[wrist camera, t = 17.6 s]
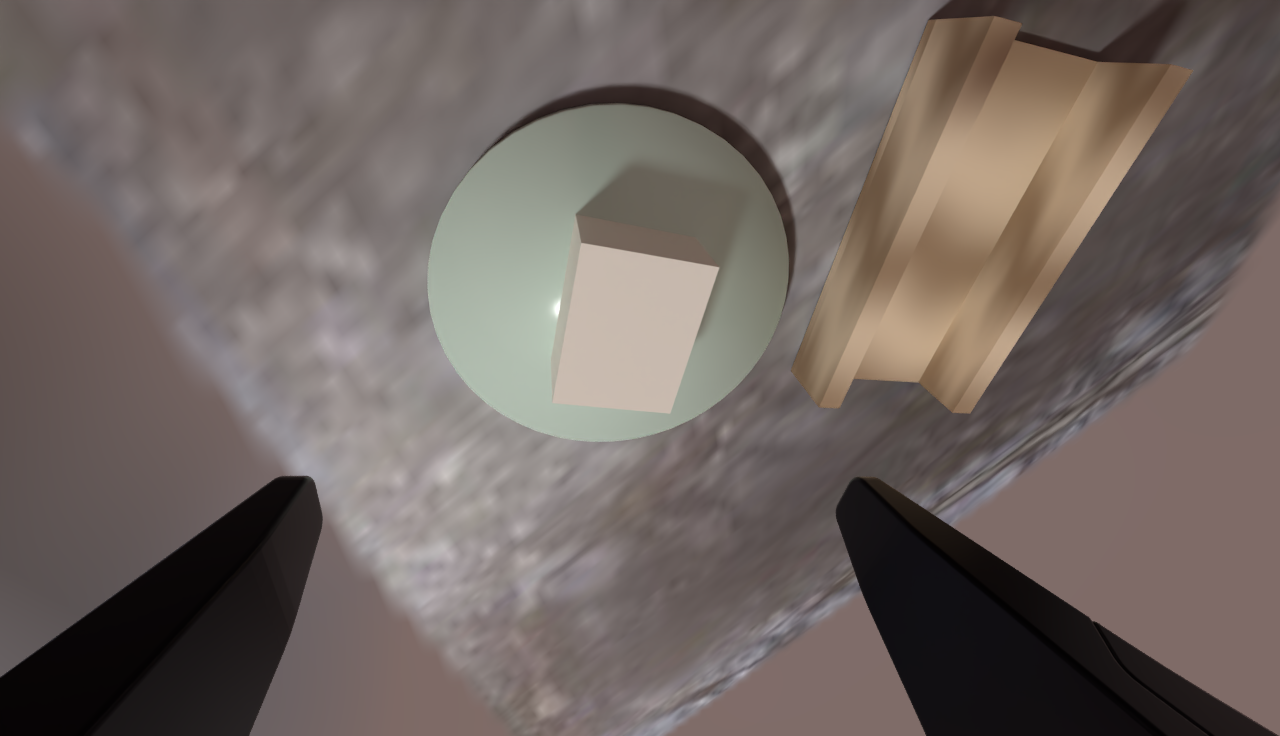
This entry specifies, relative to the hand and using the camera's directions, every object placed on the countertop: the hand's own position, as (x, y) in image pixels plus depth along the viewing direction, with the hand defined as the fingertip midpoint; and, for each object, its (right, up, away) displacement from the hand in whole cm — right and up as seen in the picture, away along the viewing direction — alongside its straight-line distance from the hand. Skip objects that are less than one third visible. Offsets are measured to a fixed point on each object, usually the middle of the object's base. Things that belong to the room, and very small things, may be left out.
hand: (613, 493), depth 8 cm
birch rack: (+13, +8, +13) cm, 20 cm away
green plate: (-1, +5, +12) cm, 13 cm away
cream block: (0, +5, +11) cm, 12 cm away
